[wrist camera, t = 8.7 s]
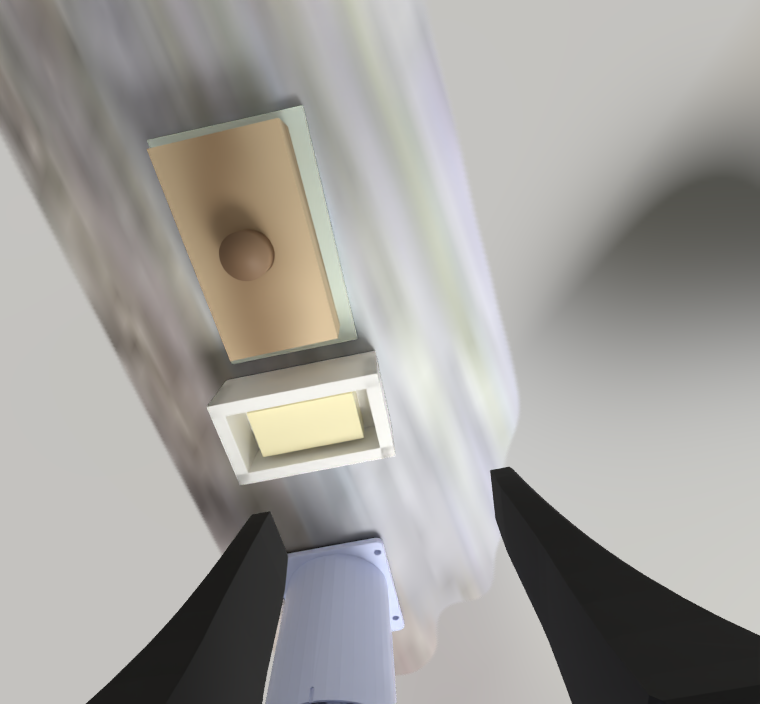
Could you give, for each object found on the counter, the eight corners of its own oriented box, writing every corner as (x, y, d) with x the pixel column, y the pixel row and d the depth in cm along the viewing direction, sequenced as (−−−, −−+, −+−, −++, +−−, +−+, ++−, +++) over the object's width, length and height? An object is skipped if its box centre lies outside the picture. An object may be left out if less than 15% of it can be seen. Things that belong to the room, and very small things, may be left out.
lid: (287, 126, 17) (271, 111, 14) (340, 325, 20) (336, 347, 17) (170, 154, 17) (129, 145, 14) (242, 346, 21) (221, 371, 18)
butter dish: (391, 425, 23) (395, 456, 20) (254, 451, 24) (239, 485, 21) (375, 350, 21) (377, 373, 19) (226, 380, 22) (206, 407, 19)
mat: (357, 336, 21) (357, 339, 21) (234, 361, 21) (232, 364, 21) (303, 107, 17) (302, 105, 17) (151, 141, 17) (146, 140, 17)
